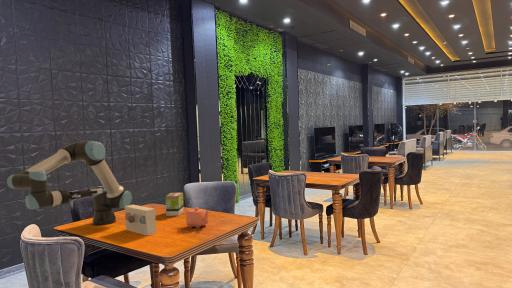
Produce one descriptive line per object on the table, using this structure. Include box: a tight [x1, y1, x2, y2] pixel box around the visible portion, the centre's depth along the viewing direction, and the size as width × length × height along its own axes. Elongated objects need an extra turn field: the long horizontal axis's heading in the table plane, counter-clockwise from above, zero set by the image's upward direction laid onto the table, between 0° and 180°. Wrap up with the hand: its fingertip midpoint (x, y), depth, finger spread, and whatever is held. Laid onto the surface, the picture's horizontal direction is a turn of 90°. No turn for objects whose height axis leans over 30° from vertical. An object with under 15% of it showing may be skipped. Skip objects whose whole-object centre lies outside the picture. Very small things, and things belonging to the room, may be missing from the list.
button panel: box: [124, 204, 157, 237], centre depth 223 cm, size 24×6×15 cm, turn 50°
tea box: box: [165, 192, 185, 217], centre depth 268 cm, size 15×10×15 cm, turn 179°
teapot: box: [185, 207, 210, 230], centre depth 229 cm, size 20×12×12 cm, turn 58°
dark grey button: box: [140, 216, 145, 224], centre depth 216 cm, size 4×2×4 cm, turn 50°
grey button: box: [128, 215, 135, 223], centre depth 219 cm, size 4×2×4 cm, turn 50°
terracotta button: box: [124, 213, 131, 220], centre depth 226 cm, size 4×2×4 cm, turn 50°
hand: (101, 190), depth 213 cm, fingers closed
